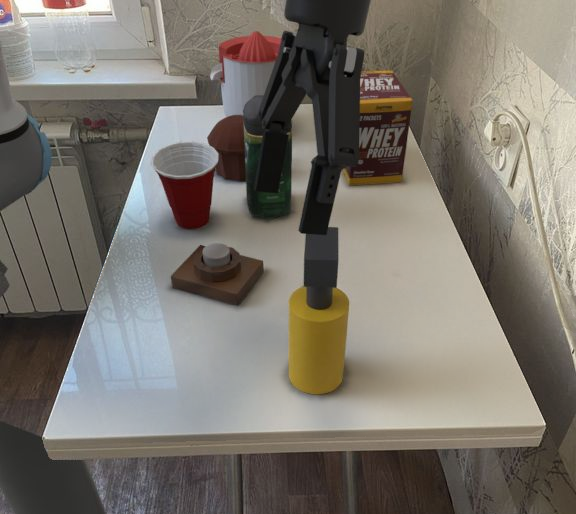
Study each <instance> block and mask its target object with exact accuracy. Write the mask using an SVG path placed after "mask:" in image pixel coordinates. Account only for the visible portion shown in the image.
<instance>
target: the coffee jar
mask: <svg viewBox="0 0 576 514" xmlns="http://www.w3.org/2000/svg"><path fill="white" fill-rule="evenodd" d="M263 96H264V95H256V96H253V98H251V99H250V100H249V101H247V102H246V104H245V105H244V109H243V115H244V120H243V122H244V142H245V167H246V180H245V189H246V190H245V191H246V203H247V205H246V206H247V208H248V211H249V212H250V214H251V215H252V216H255V217H261V218H265V219H272V218H273V219H275V218H279V217H281V216H285V215H287V214H289V213H290V211H291V209H292V177H293V176H292V174H293V172H292V171H293V119H292V120H291V121H290V124H289V125H290V127H291V132H290V133H289V132H282V131H281V133H286V134H288V135H289V136H288V142H287V147H286V153H285V158H284V163H283V169H282V174H281V179H280V185H279V190H278V193H268V192H257V191H255V190H254V185H255V179H256V173H257V167H258V161H259V155H260V149H261V143H262V137H263V131H265V129H263V127H262V121H263V120H261V119H258V111H259V108H260V105H261V102H262V99H263ZM268 109H269V107H268Z"/></svg>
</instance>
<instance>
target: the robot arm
mask: <svg viewBox="0 0 576 514" xmlns="http://www.w3.org/2000/svg"><path fill="white" fill-rule="evenodd" d="M371 1H372V0H285V6H284V12H283V15H284V18H285V20H286V21H288V22H292V23H296V24H298V29H297V30H296V31H297V32H293V31H289V30H284V31H283V32H282V34H281V37H280V38H281V43H280V48H279V53H278V56H277V59H276V62H275V64H274V67H273V70H272V73H271V76H270V79H269V82H268V85H267V88H266V90H265V93H264V96H263V99H262V102H261V105H260V108H259V111H258V119H261V120H263V121H262V127H263V129H265V131H263V137H262V143H261V149H260V155H259V161H258V167H257V173H256V179H255V185H254V190H255V191H257V192H268V193H278V190H279V185H280V179H281V174H282V169H283V163H284V158H285V153H286V147H287V142H288V136H289V135H288V134H286V133H281V131H282V132H289V133H290V132H291V127H290V125H289V124H290V121H291V120H292V121H293V118H294V116H295V115H296V113H297V111H298V109H299V107H300V106H301V104H302V102H303V101H304V99H305V98H306V96H307V97H308V98H309V99H310V100H311V103H312V113H313V114H312V115H313V123H314V124H313V125H314V132H315V133H314V134H315V143H316V144H315V145H316V155H315V156H314V157H313V158H312V159H311V161H310V164H311V167H310V173H309V178H308V182H307V187H306V191H305V196H304V202H303V206H302V210H301V216H300V220H299V225H298V226H299V227H298V232H299V233H300V234H302V235H306V234H316V235H327V230H328V227H330V222H331V217H332V212H333V208H334V205H335V200H336V195H337V191H338V187H339V182H340V177H341V174H342V172H343V170H342V169H345V168H346V167H349V166H351V167H356V166H357V164H358V162H359V127H360V77H361V71H362V70H363V66H364V60H365V50H364V49H363V48H358V47H354V46H350V45H348V38H349V36H350V35H351V36H355V37H359V36H361V35H363V33H364V32H365V28H366V23H367V19H368V15H369V10H370V6H371ZM344 75H347V76H346V77H345V76H344ZM268 107H269V109H268ZM40 128H41V125H40V124H39V123H38V121H37V120H36V119H35V118H34V117H32V115H30V114H28V113H27V109H26V107H24V106H23V105H22V104H21V103H20V102H18V101H17V100H15V99H13V94H12V89H11V84H10V79H9V75H8V70H7V65H6V61H5V55H4V51H3V46H2V42H1V40H0V212H2V211H3V210H5V209H6V208H8V207H9V206H10V205H12V204H14V203H15V202H17V201H18V200H20V199H21V198H22V197H25V196H26V195H29V194H31V193H32V192H33V191H34V190H35V189H36V188H37V187H38V186H39V185H40V184H41V183H42V182H44V180H46V178H47V177H48V175H49V173H50V172H51V171H50V170H51V167H52V160H53V159H52V149H51V145H50V141H49V139H48V137H47V134H46V133H45V131H41V130H40ZM347 149H348V152H347ZM8 269H9V268H8V267H7V266H6V265H5V264H4V263H3V262H2V260H0V298H1V297H3V295H5V293H7V291H8V289H9V288H10V283H9V281H8V279H7V277H6V275H5V274H6V273H7V271H8Z"/></svg>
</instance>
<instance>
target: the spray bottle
mask: <svg viewBox="0 0 576 514" xmlns="http://www.w3.org/2000/svg"><path fill="white" fill-rule="evenodd" d="M303 255H304V256H303V285H302V286H301V287H298V288H297V289H295V290H294V291H293V292H292V293H291V294H290V296H289V299H288V378H289V381H290V383H291V384H292V386H293V387H294V388H296V389H297V390H298V391H301V392H302V393H306V394H309V395H325V394H328V393H331V392H333V391H334V390H336V389H337V388H339V386H340V385H341V384H342V381H343V379H344V369H345V358H346V346H347V335H348V323H349V314H350V299H349V297H348V295H347V294H346V293H345V291H344V290H342V289H340V288H339V287H337V286H338V275H339V273H338V272H339V227H338V226H328V230H327V235H316V234H305V240H304V253H303Z"/></svg>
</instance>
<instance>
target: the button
mask: <svg viewBox="0 0 576 514" xmlns="http://www.w3.org/2000/svg"><path fill="white" fill-rule="evenodd" d="M205 246H206V247H205V248H204V249H203V261H204V264H205V265H206V266H209V267H223V266H225V265H227V264H229V263H230V249H229V247H230V246H228V245H226V244H225V243H221V242H220V243H219V242H215V243H210V244H207V245H205Z"/></svg>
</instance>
